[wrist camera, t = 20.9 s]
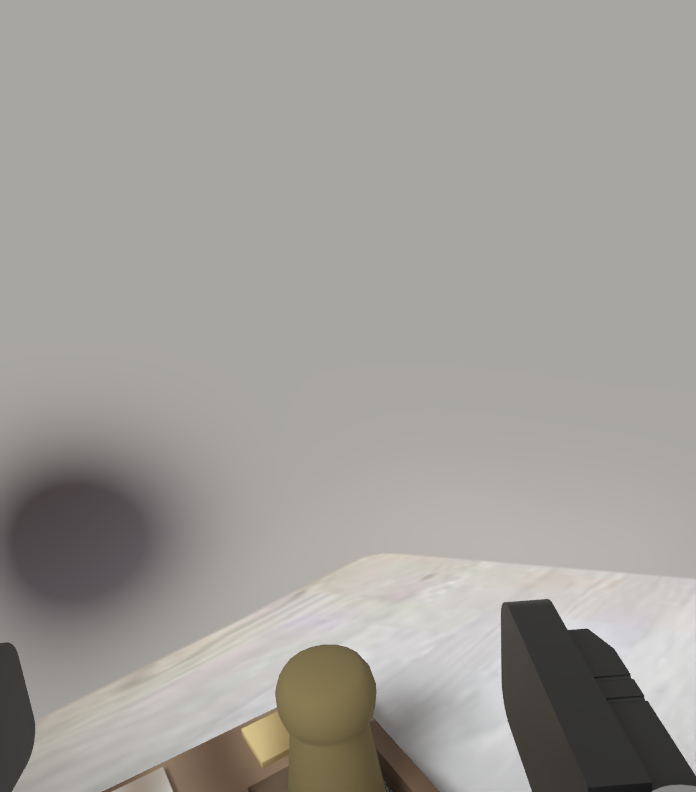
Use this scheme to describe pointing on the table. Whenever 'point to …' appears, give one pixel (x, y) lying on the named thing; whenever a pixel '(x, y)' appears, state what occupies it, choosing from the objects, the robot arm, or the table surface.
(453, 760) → the table surface
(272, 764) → the wooden frame
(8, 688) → the robot arm
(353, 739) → the olive pawn figure
